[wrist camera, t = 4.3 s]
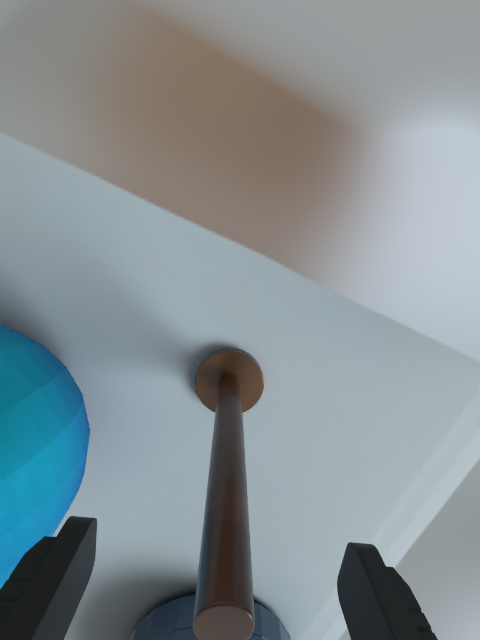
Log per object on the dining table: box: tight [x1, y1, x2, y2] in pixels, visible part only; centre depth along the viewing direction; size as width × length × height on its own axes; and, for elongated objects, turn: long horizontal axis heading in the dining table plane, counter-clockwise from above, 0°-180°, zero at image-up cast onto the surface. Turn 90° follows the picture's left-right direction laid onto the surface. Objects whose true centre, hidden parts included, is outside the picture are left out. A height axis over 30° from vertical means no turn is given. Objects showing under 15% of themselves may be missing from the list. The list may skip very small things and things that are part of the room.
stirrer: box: [193, 349, 264, 640], centre depth 15 cm, size 5×5×15 cm
